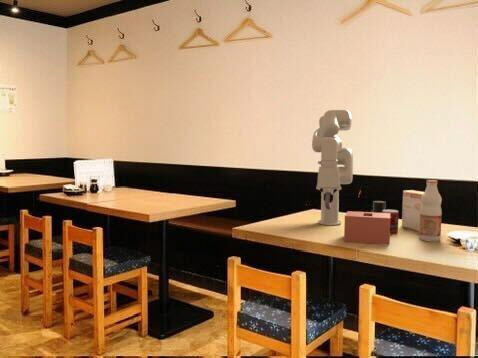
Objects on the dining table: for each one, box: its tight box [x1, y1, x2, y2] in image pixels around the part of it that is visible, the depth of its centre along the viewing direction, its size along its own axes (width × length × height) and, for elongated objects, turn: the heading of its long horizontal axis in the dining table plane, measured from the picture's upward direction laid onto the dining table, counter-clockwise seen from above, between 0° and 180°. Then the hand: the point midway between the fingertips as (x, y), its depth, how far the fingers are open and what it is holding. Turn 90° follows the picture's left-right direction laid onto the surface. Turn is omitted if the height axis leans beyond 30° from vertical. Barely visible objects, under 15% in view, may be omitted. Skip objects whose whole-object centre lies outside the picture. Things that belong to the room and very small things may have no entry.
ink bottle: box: [370, 200, 387, 213], centre depth 269 cm, size 10×9×12 cm
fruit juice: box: [418, 179, 443, 242], centre depth 227 cm, size 9×9×28 cm
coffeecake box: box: [401, 189, 425, 232], centre depth 253 cm, size 15×7×20 cm, turn 18°
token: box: [325, 192, 331, 209], centre depth 230 cm, size 6×2×6 cm
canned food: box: [383, 209, 399, 235], centre depth 244 cm, size 8×8×11 cm
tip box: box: [343, 210, 391, 246], centre depth 226 cm, size 14×20×12 cm
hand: (328, 202), depth 231 cm, fingers closed on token, 1 cm apart
